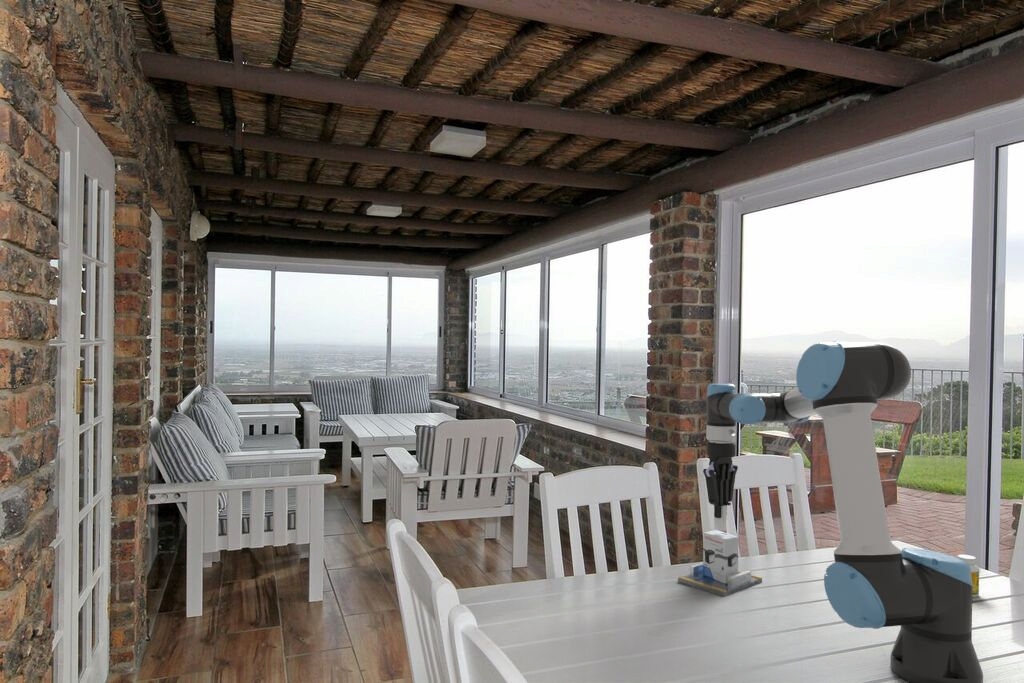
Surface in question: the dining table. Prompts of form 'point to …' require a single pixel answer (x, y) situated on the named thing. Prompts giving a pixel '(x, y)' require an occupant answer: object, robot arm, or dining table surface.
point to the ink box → (720, 555)
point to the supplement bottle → (972, 572)
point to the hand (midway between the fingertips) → (720, 529)
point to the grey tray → (717, 587)
